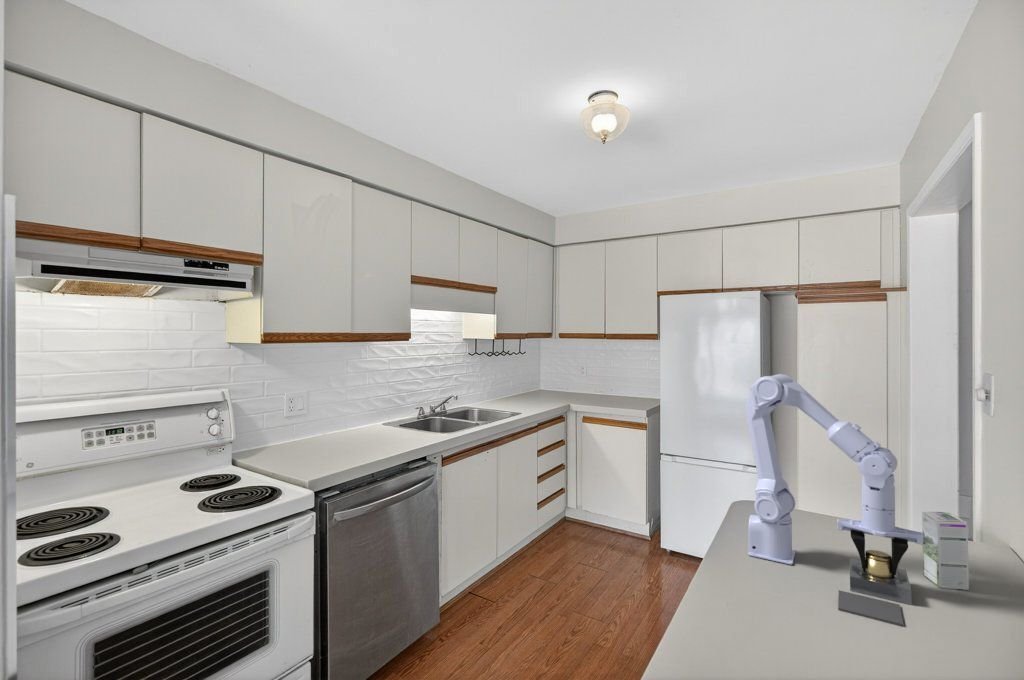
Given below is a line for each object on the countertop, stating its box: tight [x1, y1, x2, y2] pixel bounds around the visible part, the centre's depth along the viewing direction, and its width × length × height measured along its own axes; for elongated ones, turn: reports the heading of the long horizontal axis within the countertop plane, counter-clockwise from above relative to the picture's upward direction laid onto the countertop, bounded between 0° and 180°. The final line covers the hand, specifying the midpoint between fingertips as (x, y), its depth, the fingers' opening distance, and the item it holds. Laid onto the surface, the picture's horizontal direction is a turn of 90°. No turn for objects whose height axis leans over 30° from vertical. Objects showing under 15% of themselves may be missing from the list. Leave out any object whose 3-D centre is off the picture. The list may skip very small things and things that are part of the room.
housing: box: [849, 557, 912, 605], centre depth 104 cm, size 10×10×3 cm
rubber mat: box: [837, 590, 904, 627], centre depth 96 cm, size 10×8×1 cm
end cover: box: [865, 549, 892, 579], centre depth 104 cm, size 4×4×7 cm
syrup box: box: [921, 511, 970, 591], centre depth 105 cm, size 6×6×14 cm
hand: (878, 569), depth 104 cm, fingers closed on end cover, 4 cm apart
